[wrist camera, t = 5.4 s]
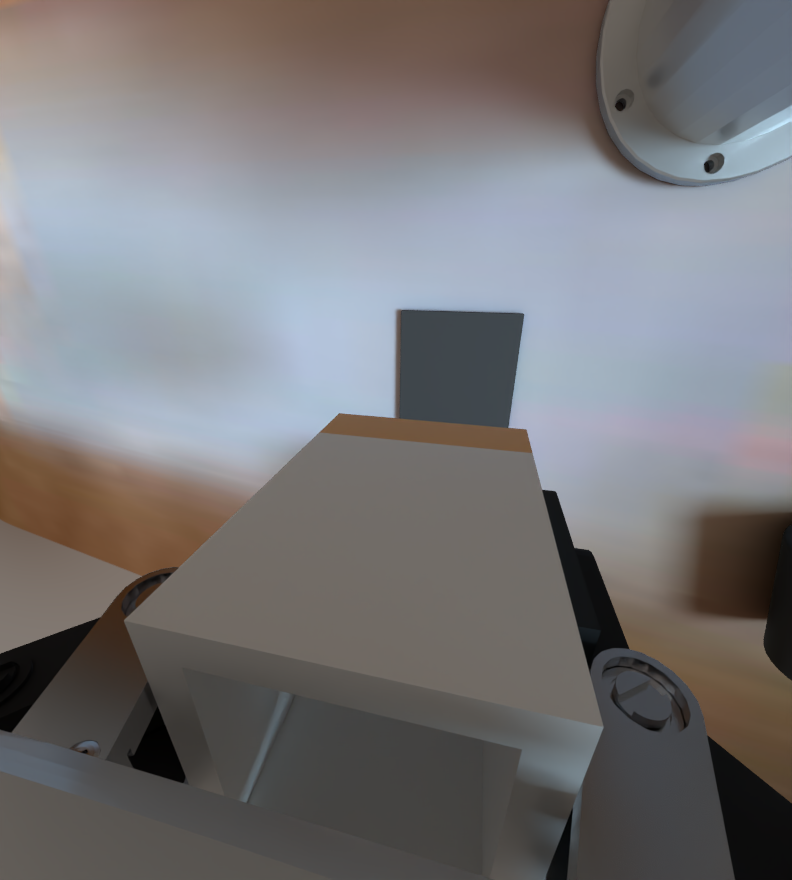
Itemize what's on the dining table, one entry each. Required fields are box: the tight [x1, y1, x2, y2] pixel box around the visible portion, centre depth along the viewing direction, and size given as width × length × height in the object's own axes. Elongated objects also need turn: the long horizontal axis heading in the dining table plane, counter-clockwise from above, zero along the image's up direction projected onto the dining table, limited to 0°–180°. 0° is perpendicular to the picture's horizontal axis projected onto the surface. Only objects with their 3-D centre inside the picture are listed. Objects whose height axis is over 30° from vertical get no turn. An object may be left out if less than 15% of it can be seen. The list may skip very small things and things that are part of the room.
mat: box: [400, 310, 524, 428], centre depth 27 cm, size 8×8×1 cm
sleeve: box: [124, 413, 604, 880], centre depth 8 cm, size 5×5×7 cm
